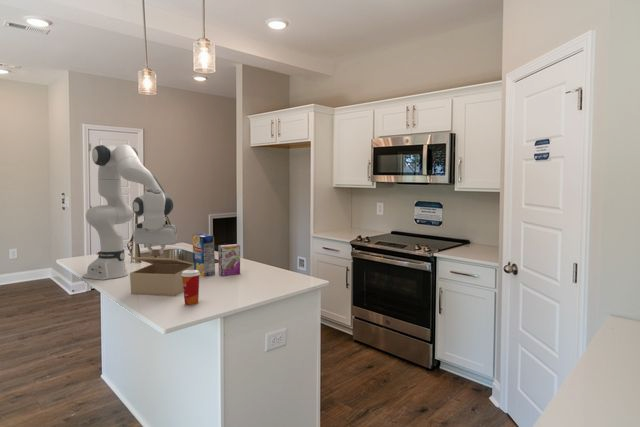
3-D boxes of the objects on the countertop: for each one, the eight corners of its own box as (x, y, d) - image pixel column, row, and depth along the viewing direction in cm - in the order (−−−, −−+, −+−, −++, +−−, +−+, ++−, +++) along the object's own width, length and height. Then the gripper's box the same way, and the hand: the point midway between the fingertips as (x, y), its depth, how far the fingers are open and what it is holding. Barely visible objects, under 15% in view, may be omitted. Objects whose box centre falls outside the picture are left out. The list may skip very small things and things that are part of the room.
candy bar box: (221, 276, 227) (220, 246, 225) (218, 274, 231) (217, 245, 229) (240, 273, 233) (240, 244, 231) (237, 272, 237) (236, 243, 235)
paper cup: (184, 300, 184) (183, 269, 183) (202, 300, 185) (201, 269, 183) (180, 306, 176) (179, 273, 175) (198, 305, 177) (197, 273, 175)
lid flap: (130, 258, 193) (132, 248, 195) (153, 263, 213) (154, 254, 214) (175, 260, 190) (176, 249, 191) (194, 264, 210) (195, 255, 211)
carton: (130, 294, 194) (129, 273, 193) (153, 282, 214) (153, 263, 213) (175, 296, 191) (174, 274, 190) (194, 284, 211) (193, 265, 210)
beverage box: (204, 277, 226) (203, 236, 224) (193, 273, 233) (192, 234, 231) (215, 274, 231) (214, 235, 228) (204, 271, 238) (203, 233, 236)
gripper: (179, 223, 195) (180, 253, 197) (139, 223, 198) (140, 251, 199) (173, 225, 189) (174, 255, 190) (131, 224, 192) (132, 254, 193)
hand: (156, 253), depth 195 cm, fingers closed on lid flap, 3 cm apart
